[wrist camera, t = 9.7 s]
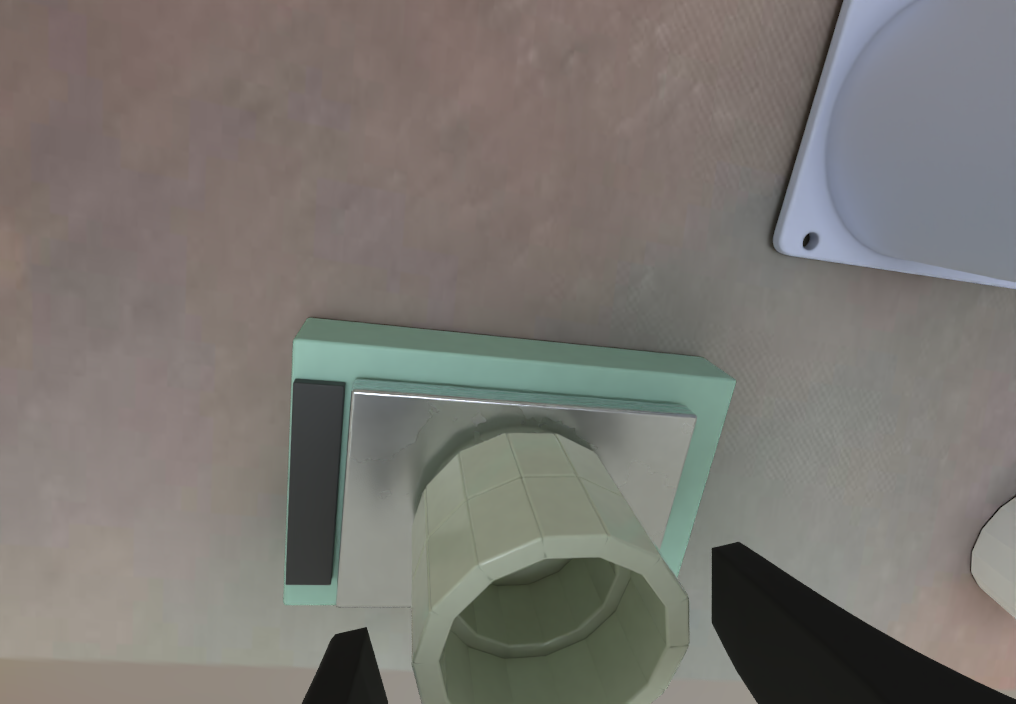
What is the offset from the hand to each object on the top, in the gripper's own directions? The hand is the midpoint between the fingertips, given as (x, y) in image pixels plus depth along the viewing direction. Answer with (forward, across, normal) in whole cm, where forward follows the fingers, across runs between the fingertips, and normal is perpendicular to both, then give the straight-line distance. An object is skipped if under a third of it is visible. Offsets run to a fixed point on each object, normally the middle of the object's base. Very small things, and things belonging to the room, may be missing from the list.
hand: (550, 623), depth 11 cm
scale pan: (+5, 0, 0) cm, 5 cm away
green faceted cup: (+4, 0, 0) cm, 4 cm away
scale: (+7, 0, 0) cm, 7 cm away
